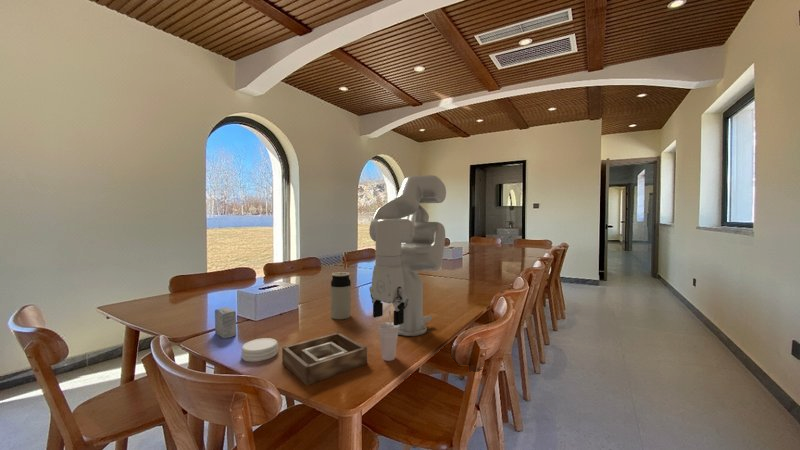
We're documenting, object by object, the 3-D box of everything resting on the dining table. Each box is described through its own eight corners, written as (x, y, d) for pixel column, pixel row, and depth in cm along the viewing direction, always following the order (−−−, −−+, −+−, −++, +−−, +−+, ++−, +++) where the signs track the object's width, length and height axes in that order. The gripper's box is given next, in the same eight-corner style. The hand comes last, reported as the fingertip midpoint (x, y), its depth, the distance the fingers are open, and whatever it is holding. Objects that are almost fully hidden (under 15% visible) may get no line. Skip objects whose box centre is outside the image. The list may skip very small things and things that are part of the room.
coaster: (240, 365, 91) (240, 353, 91) (242, 351, 100) (242, 340, 100) (278, 358, 95) (278, 347, 95) (277, 346, 104) (276, 335, 104)
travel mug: (349, 320, 130) (348, 275, 129) (329, 319, 130) (328, 275, 129) (352, 313, 138) (352, 271, 137) (333, 313, 138) (333, 271, 137)
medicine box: (236, 335, 113) (236, 311, 113) (222, 339, 110) (222, 313, 109) (228, 330, 118) (227, 306, 118) (214, 333, 115) (214, 309, 115)
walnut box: (338, 346, 103) (338, 332, 103) (367, 363, 91) (367, 348, 91) (282, 362, 92) (282, 347, 92) (306, 385, 80) (306, 367, 80)
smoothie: (403, 356, 96) (403, 309, 96) (391, 364, 91) (391, 315, 90) (385, 351, 100) (385, 306, 99) (373, 359, 94) (373, 311, 94)
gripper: (360, 259, 98) (360, 316, 98) (397, 265, 85) (397, 330, 85) (380, 258, 103) (380, 311, 103) (418, 263, 90) (417, 325, 90)
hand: (387, 320), depth 94 cm, fingers open, 9 cm apart
